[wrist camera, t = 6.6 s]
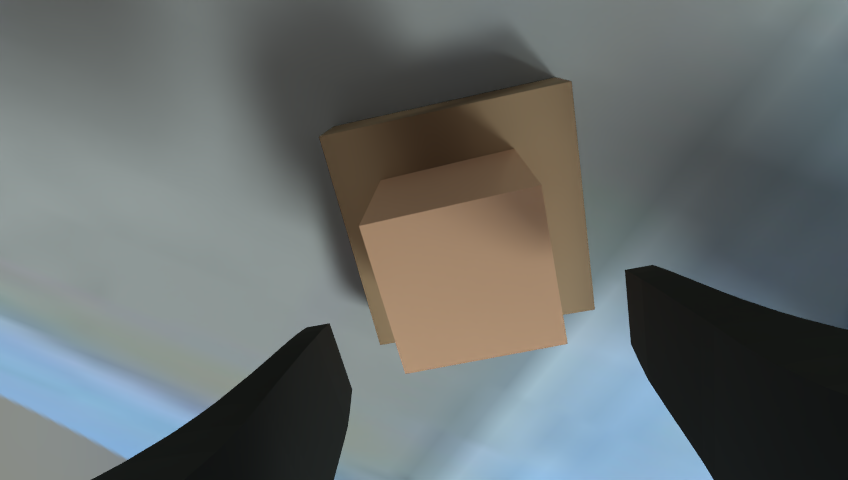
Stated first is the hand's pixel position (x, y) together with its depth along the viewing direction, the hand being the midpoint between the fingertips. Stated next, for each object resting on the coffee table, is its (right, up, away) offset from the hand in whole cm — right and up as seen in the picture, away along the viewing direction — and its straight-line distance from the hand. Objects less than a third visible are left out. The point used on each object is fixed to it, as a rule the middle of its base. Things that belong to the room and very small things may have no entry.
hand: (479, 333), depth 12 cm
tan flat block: (0, +4, +10) cm, 10 cm away
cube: (0, +3, +7) cm, 7 cm away
